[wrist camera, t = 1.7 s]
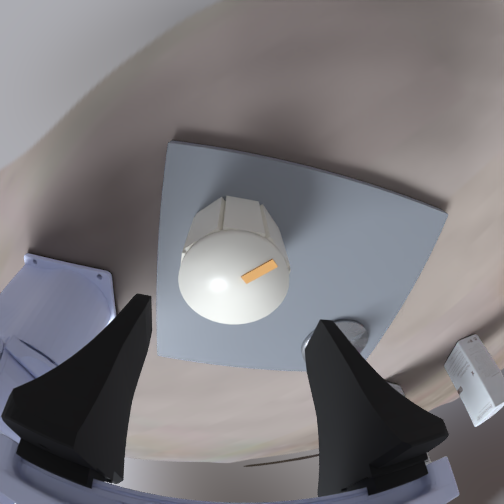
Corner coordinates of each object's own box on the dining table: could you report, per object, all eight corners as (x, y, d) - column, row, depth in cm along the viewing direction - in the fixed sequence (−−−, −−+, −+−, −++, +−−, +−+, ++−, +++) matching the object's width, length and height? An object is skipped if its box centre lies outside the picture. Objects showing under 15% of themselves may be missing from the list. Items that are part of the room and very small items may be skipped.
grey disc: (292, 363, 25) (298, 397, 22) (315, 316, 22) (327, 353, 19) (348, 364, 26) (359, 395, 23) (377, 320, 23) (393, 353, 20)
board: (159, 347, 25) (157, 355, 24) (171, 140, 16) (168, 142, 15) (354, 364, 28) (357, 371, 27) (441, 209, 19) (448, 214, 18)
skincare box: (456, 340, 29) (495, 407, 18) (477, 331, 29) (515, 393, 18) (442, 367, 32) (472, 429, 21) (462, 358, 32) (493, 416, 21)
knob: (224, 286, 20) (222, 338, 16) (174, 228, 18) (155, 273, 13) (292, 248, 19) (308, 296, 14) (246, 180, 16) (250, 213, 12)
